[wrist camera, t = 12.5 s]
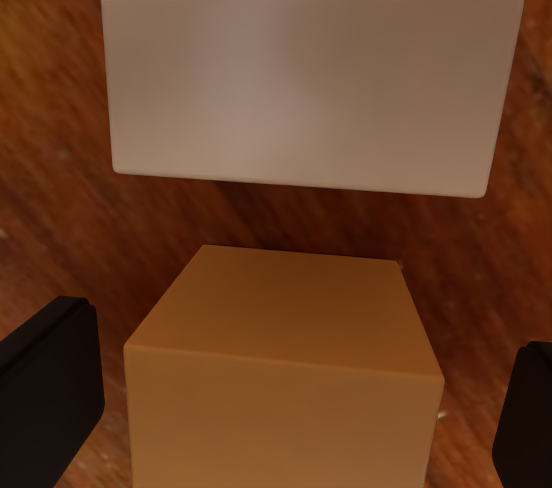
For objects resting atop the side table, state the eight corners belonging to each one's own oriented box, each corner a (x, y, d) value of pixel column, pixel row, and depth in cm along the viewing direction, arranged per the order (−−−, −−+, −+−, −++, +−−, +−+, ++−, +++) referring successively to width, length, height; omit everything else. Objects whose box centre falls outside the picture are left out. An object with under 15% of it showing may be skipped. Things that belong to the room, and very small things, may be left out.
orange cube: (202, 243, 12) (120, 345, 7) (397, 259, 11) (447, 379, 7) (202, 402, 13) (136, 570, 9) (373, 421, 13) (399, 609, 8)
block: (201, -114, 9) (74, -318, 5) (453, -110, 9) (596, -331, 4) (203, 137, 11) (110, 174, 6) (414, 149, 11) (487, 201, 6)
